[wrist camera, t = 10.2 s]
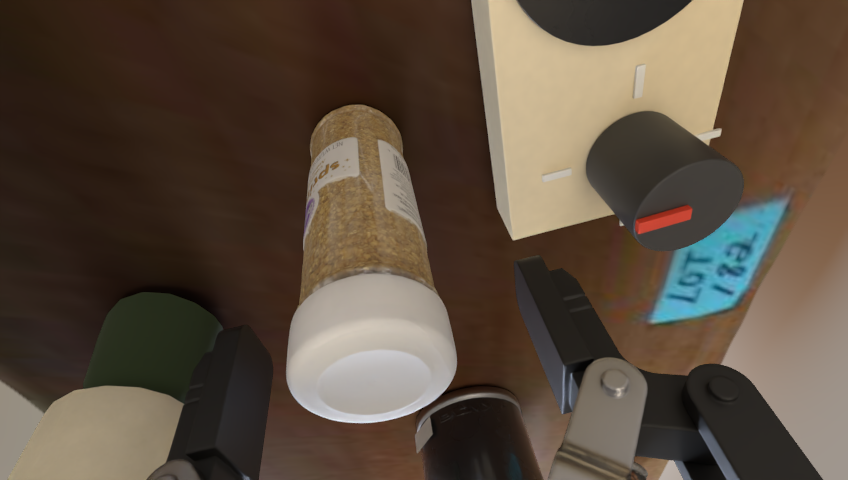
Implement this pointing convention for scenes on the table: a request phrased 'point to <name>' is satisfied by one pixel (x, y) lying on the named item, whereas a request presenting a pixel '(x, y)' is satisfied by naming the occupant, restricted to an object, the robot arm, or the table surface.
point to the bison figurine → (638, 472)
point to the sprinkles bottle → (365, 281)
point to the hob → (587, 101)
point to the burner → (600, 18)
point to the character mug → (124, 395)
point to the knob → (663, 181)
